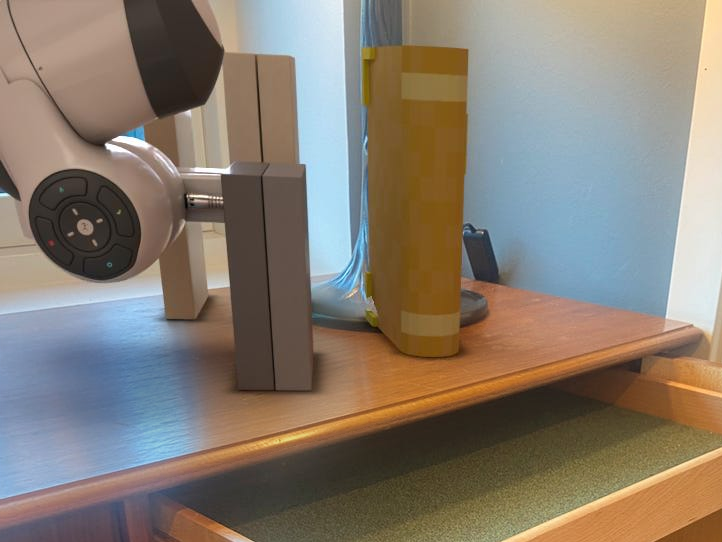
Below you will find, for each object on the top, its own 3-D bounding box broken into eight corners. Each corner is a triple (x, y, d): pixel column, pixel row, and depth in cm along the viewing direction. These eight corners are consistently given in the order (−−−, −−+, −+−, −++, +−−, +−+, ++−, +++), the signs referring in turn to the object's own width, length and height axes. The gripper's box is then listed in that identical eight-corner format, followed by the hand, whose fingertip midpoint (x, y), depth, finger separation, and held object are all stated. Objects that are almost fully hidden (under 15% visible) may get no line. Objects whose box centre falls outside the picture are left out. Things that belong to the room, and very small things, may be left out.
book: (365, 318, 103) (361, 47, 91) (425, 317, 105) (429, 51, 93) (401, 358, 90) (402, 44, 77) (470, 355, 91) (482, 49, 79)
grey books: (238, 390, 78) (220, 173, 70) (249, 353, 88) (234, 161, 80) (311, 390, 79) (301, 176, 71) (313, 354, 89) (305, 164, 81)
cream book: (165, 319, 99) (139, 97, 89) (181, 296, 109) (159, 95, 99) (195, 320, 99) (172, 99, 89) (208, 296, 110) (189, 96, 100)
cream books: (242, 322, 99) (221, 51, 87) (251, 295, 111) (234, 54, 99) (302, 323, 100) (290, 55, 88) (305, 296, 112) (295, 57, 100)
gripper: (258, 161, 76) (268, 149, 88) (-14, 149, 73) (34, 139, 85) (263, 246, 79) (272, 223, 91) (3, 238, 77) (46, 215, 88)
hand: (155, 182), depth 88 cm, fingers open, 8 cm apart
